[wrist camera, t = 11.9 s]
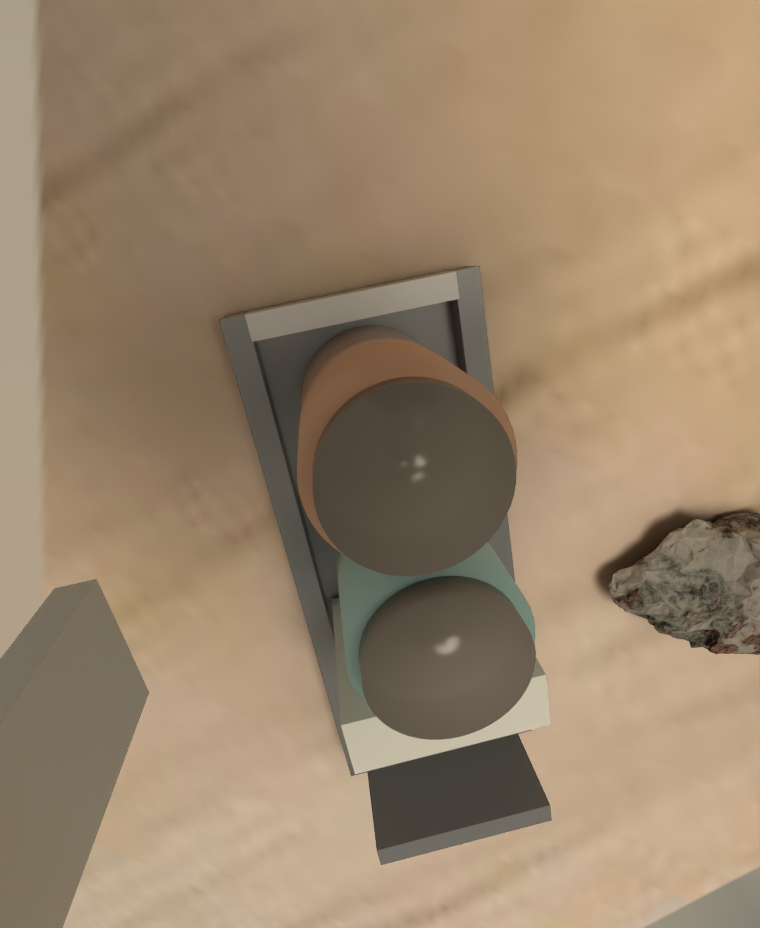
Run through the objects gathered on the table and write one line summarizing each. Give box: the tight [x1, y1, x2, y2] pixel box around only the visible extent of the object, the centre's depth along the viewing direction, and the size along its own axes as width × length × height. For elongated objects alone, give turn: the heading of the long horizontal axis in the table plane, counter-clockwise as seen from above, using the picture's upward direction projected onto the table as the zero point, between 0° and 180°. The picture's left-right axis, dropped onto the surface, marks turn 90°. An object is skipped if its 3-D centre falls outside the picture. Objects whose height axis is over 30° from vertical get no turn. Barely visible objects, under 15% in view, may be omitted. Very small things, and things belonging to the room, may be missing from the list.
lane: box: [219, 266, 552, 865], centre depth 23 cm, size 24×10×7 cm, turn 11°
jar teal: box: [335, 542, 536, 740], centre depth 20 cm, size 6×6×10 cm
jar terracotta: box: [297, 325, 517, 576], centre depth 18 cm, size 6×6×10 cm
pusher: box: [332, 597, 551, 774], centre depth 23 cm, size 2×7×8 cm, turn 101°
